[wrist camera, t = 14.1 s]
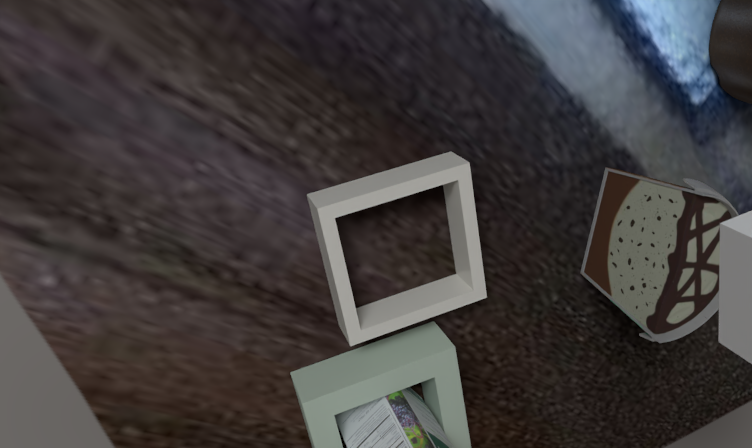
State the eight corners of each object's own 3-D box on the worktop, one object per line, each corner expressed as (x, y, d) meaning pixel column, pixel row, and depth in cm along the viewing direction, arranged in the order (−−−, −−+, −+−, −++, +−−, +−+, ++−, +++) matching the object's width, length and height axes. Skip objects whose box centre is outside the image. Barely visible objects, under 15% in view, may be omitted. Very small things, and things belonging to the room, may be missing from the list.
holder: (451, 151, 48) (469, 162, 45) (469, 280, 52) (487, 297, 50) (306, 194, 45) (317, 208, 42) (339, 326, 50) (350, 346, 47)
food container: (634, 286, 58) (722, 343, 49) (576, 289, 56) (658, 349, 47) (670, 151, 54) (774, 188, 45) (609, 149, 52) (706, 186, 43)
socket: (433, 321, 52) (455, 346, 49) (453, 434, 57) (474, 464, 54) (290, 372, 50) (301, 403, 46) (323, 486, 55) (336, 522, 51)
